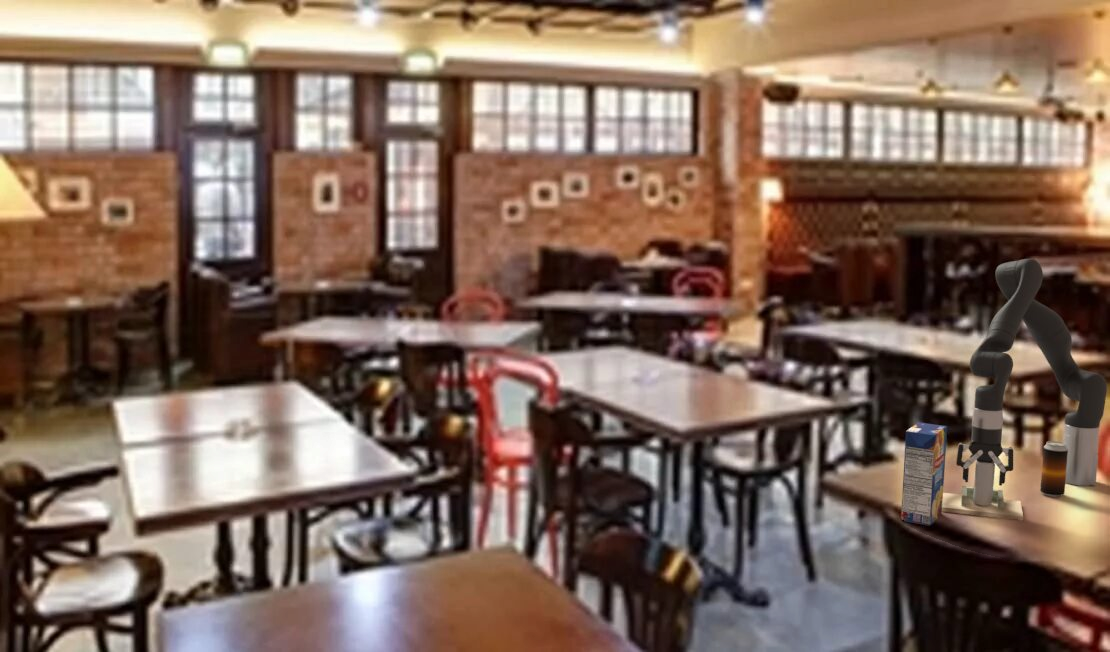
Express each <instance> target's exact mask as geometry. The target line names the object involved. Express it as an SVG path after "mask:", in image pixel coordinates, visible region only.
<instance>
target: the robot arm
mask: <svg viewBox="0 0 1110 652" xmlns="http://www.w3.org/2000/svg"><path fill="white" fill-rule="evenodd" d="M994 273H995V280H996V285H997V286H998V287H999V289H1000V291H1001V293H1002V294H1003V295H1004V297H1005V299H1006V300H1007V302H1006V303H1005V304H1004V305H1003V306H1002V307H1001V308H1000V309H999V310H998V311H997V312H996V314H995V315H994V317H993V318H992V319H991V322H990V324H989V327H988V329H987V333H986V336H985V338H984V339H983V341H981V343H980V345H978V347H977V348H976V349H975V351H973V354H972V355H971V358H970V360H969V370H970V371H971V373H972V374H973V375H974V376H977V377H980V378H981V377H982V378H990V379H995V382H994V383H993V384H986V385H979V386H978V387H977V388H976V389H975V394H974V409H973V414H972V421H971V439H970V440H971V441H970V443H969V444H967V443H966V444H965V443H963V442H959V443H958V446H957V447H958V448H957V455H956V466H958V467H961V468H962V480H963V481H964V482H965V483H969V472H970V471H969V469H970V466H971V465H972V464H974V463H976V462H977V461H979V462H988V463H991V462H993V461H994V462H995V463H994V464H995V466H997V468H998V469H999V477H998V479H999V480H998V485H999V486H1000V487H1001V486H1002V485H1003V484H1005V482H1006V473H1007V472H1011V471H1014V448H1013V447H1012V446H1009V447H1002V439H1003V438H1002V436H1003V426H1004V423H1003V420H1004V413H1003V406H1004V395H1005V391H1006V388H1007V384H1008V382H1009V379H1010V376H1011V375H1012V371H1013V369H1014V360H1013V358H1012V356H1011V355H1010V354H1009V353H1006V352H1009V351H1010V350H1012V347H1013V345H1014V342H1015V340H1016V337H1017V333H1018V330H1019V327H1020V325H1021V323H1022V321H1023V323H1024V324H1025V327H1026V328H1027V330H1028V331H1029V333H1030V335H1031V337H1032V339H1033V341H1034V342H1035V344H1036V346H1037V347H1038V348H1039V349H1040V351H1041V352H1042V354H1043V356H1044V357H1045V360H1046V362H1047V363H1048V365H1049V367H1050V368H1051V370H1052V372H1053V374H1054V376H1055V379H1056V381H1057V384H1058V386H1059V388H1060V389H1061V391H1062V393H1063V394H1064V396H1065V397H1067V398H1068V399H1070V400H1073V401H1076V402H1078V407H1077V409H1076V411H1071V412H1068V413H1066V414H1065V416H1064V424H1063V425H1064V426H1063V437H1062V438H1063V441H1062V443H1065V444H1066V447H1067V449H1068V455H1067V467H1066V480H1065V484H1069V485H1074V486H1087V487H1088V486H1095V487H1096V485H1097V473H1098V462H1099V453H1098V449H1099V448H1098V446H1099V438H1100V437H1099V436H1100V435H1099V433H1100V424H1101V420H1102V418H1103V416H1104V413H1105V404H1106V400H1107V399H1106V398H1107V390H1108V389H1107V386H1108V385H1107V382H1106V379H1105V377H1104V376H1103V375H1101V374H1100V373H1096V372H1094V371H1088V370H1085V369H1082V368H1080V366H1079V365H1078V364H1077V363H1076V361H1075V359H1074V358H1073V356H1072V353H1071V349H1072V341H1073V339H1072V334H1071V333H1070V330H1069V329H1068V327H1067V325H1066V324H1065V322H1064V320H1063V318H1062V317H1061V316H1060V315H1059V314H1058V313H1057V312H1056V311H1054V310H1053V309H1051V308H1049V307H1048V306H1047V305H1045V304H1042V303H1041V302H1039V301H1037V300H1036V299H1035V297H1036V295H1037V293H1038V292H1039V290H1040V288H1041V286H1042V283H1043V279H1044V273H1043V269H1042V266H1041V264H1040V262H1038V260H1037V259H1034V258H1024V259H1018V260H1014V261H1013V260H1012V261H1008V262H1007V261H1006V262H1004V263H1001V264H999V265H998V266H997V267H996V269H995V272H994ZM967 450H969V452H970V453H971V455H970V456H968V458H967V459H966V460H965V461H963V459H962V458H963V453H965V452H966V451H967ZM1002 453H1004V456H1006V457H1007V465H1005V464H1003V462H1002V460H1001V459H1000V457H999V456H1001V455H1002Z"/></svg>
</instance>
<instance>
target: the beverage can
mask: <svg viewBox="0 0 1110 652" xmlns="http://www.w3.org/2000/svg"><path fill="white" fill-rule="evenodd" d="M1067 455H1068V449H1067V447H1066V444H1065V443H1063V441H1062V442H1061V441H1055V440H1048V441H1046V444H1045V445H1044V446H1043V450H1042V466H1041V477H1040V478H1041V479H1040V493H1042V494H1043V495H1044V496H1046V497H1053V498H1061V496H1063V495H1065V492H1066V491H1065V488H1066V483H1065V480H1066V467H1067Z"/></svg>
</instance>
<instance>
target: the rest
mask: <svg viewBox="0 0 1110 652" xmlns="http://www.w3.org/2000/svg"><path fill="white" fill-rule="evenodd" d="M973 494H974V486H965V485H962V486H961V494H959V493H951V492H950V493H948V492H943V501H942V513H943V512H945V513H953V514H961V515H969V514H970V515H971V516H978V515H980V516H979V517H986V516H989V517H988V518H995V517H998V518H997V519H1004V518H1007V519H1006V520H1013V519H1018V520H1017V521H1022V520H1023V521H1024V515H1023V507H1022V501H1021V500H1014V499H1007V498H1006V499H1004V491H1003V490H1002V489H995V488H993V497H992V504H991V505H990V506H979V505H976V504H975V503H974V502H973Z"/></svg>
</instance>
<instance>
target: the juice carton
mask: <svg viewBox="0 0 1110 652" xmlns="http://www.w3.org/2000/svg"><path fill="white" fill-rule="evenodd" d="M947 433H948V426H947V425H939V424H932V423H925V422H917V423H916V424H914V425H913V426H911V427H910V428H908V429H907V430H906V431H905V444H904V460H903V477H902V478H903V479H902V493H901V494H902V497H901V508H900V510H901V513H900V520H901V519H902V520H904V521H903V522H908V523H914V524H918V525H919V524H920V525H923V526H931V525H933V524H934V523H935V521H937V519H938V518H940V516H942V513H943V512H942V502H943V493H944V482H945V467H946V466H945V465H946V455H947V454H946V453H947V452H946V451H947V438H948V437H947V435H948V434H947ZM902 520H901V521H902Z"/></svg>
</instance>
